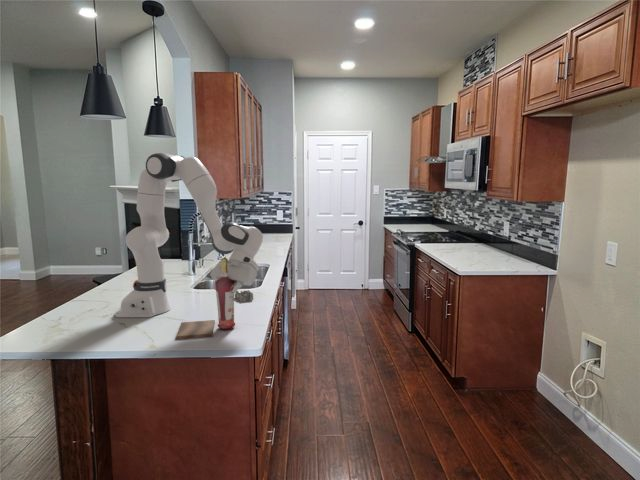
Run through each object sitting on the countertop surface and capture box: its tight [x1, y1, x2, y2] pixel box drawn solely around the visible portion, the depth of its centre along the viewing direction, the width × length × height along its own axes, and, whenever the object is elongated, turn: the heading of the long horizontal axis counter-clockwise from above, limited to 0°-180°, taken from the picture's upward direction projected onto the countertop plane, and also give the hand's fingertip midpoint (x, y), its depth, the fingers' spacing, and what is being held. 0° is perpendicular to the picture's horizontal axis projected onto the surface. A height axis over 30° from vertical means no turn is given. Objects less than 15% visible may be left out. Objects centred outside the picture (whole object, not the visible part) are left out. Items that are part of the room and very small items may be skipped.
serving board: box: [175, 319, 216, 340], centre depth 153 cm, size 13×15×1 cm
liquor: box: [214, 257, 236, 331], centre depth 154 cm, size 7×7×28 cm
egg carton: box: [234, 290, 254, 303], centre depth 195 cm, size 11×8×4 cm
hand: (224, 290), depth 153 cm, fingers closed on liquor, 7 cm apart
